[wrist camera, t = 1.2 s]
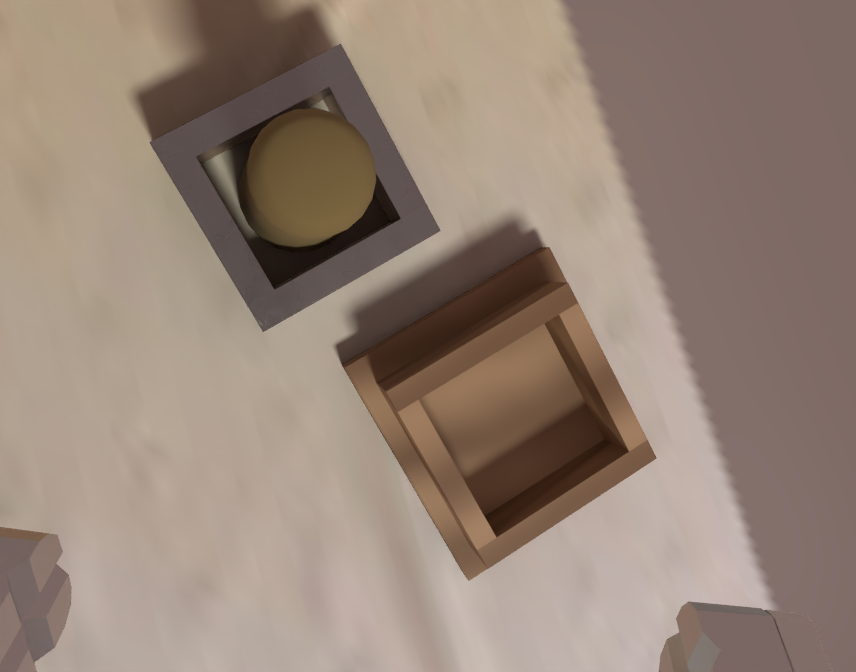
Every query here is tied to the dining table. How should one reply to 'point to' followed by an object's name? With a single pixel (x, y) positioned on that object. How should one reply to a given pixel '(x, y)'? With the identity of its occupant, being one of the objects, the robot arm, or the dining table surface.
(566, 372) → the walnut rack
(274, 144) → the cork
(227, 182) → the dining table surface
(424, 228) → the socket block
